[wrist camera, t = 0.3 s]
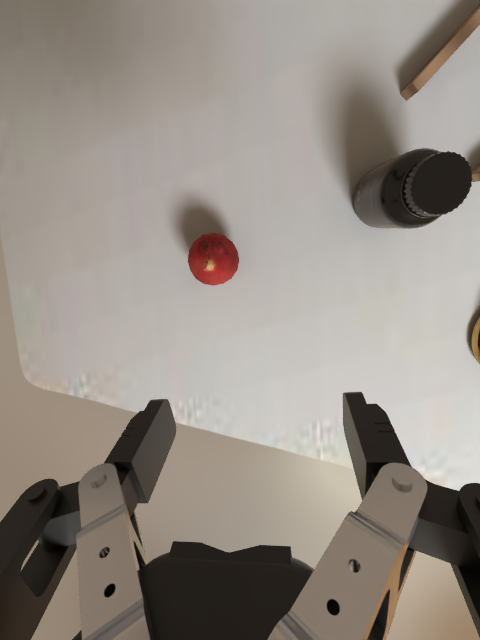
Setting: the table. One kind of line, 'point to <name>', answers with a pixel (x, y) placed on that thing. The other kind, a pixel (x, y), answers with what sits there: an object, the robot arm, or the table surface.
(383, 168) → the supplement bottle
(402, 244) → the table surface
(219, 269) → the onion
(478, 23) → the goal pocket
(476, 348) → the toy sandwich meal
